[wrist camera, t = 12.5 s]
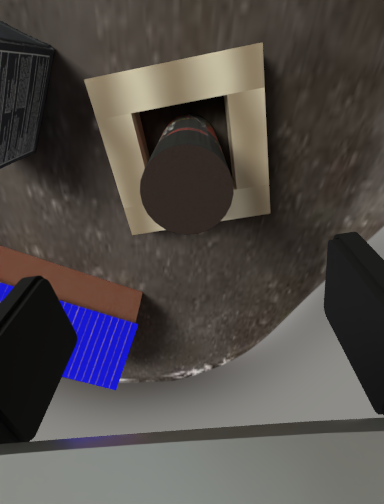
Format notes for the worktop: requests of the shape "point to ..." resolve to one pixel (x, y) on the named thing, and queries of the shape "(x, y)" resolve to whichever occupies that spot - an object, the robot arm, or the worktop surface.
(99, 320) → the house
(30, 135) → the small box
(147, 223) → the holder
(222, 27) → the worktop surface
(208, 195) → the deodorant
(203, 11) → the worktop surface
